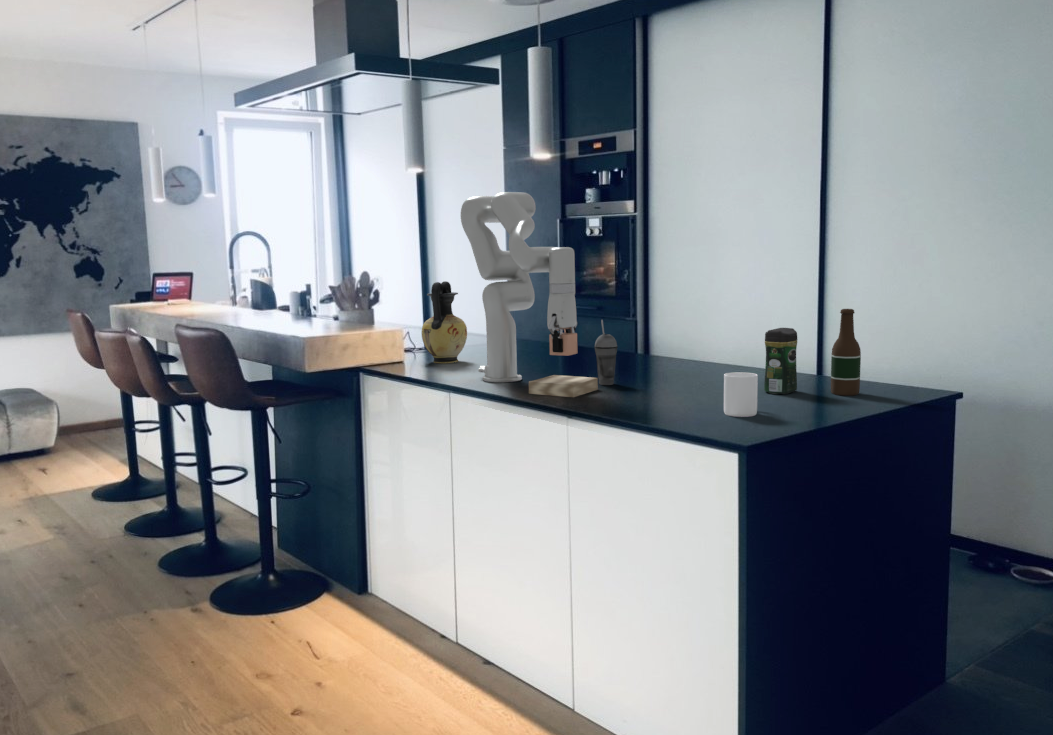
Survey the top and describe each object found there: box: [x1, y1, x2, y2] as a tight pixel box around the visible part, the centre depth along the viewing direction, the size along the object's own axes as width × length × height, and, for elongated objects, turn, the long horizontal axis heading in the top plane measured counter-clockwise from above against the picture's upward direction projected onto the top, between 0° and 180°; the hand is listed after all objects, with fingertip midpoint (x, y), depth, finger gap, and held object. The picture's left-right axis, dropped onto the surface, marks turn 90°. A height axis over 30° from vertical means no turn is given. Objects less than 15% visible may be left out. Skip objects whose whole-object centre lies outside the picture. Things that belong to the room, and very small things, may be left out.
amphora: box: [421, 281, 468, 364], centre depth 344 cm, size 18×17×30 cm
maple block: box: [528, 374, 599, 398], centre depth 275 cm, size 15×15×4 cm
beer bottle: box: [830, 308, 862, 397], centre depth 260 cm, size 8×8×24 cm
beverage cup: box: [593, 319, 618, 386], centre depth 286 cm, size 7×7×20 cm
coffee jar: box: [763, 327, 798, 395], centre depth 265 cm, size 10×8×19 cm
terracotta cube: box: [548, 332, 578, 357], centre depth 273 cm, size 6×6×6 cm
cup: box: [723, 371, 759, 418], centre depth 236 cm, size 8×12×10 cm
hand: (563, 350), depth 273 cm, fingers closed on terracotta cube, 6 cm apart
